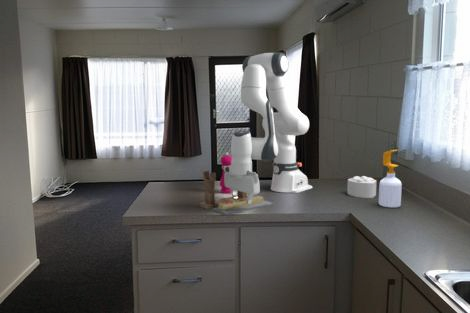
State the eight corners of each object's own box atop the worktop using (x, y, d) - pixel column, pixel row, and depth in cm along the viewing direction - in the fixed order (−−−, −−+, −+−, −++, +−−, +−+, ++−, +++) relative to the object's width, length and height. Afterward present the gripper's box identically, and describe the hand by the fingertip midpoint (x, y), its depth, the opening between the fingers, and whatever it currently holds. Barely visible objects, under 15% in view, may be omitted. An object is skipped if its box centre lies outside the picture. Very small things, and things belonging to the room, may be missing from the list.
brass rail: (258, 201, 194) (258, 195, 194) (263, 202, 192) (263, 197, 191) (218, 209, 181) (218, 203, 180) (223, 211, 179) (222, 205, 178)
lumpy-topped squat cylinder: (372, 198, 202) (372, 180, 200) (344, 195, 208) (345, 177, 207) (377, 194, 211) (378, 176, 209) (350, 191, 217) (351, 174, 216)
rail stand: (243, 197, 205) (243, 166, 203) (252, 200, 200) (252, 167, 198) (198, 205, 190) (198, 172, 188) (207, 209, 185) (207, 174, 183)
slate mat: (259, 200, 198) (259, 199, 198) (272, 204, 191) (272, 202, 191) (212, 210, 183) (212, 208, 183) (225, 214, 176) (225, 212, 176)
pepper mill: (232, 194, 212) (232, 153, 209) (218, 193, 213) (217, 153, 211) (235, 190, 219) (235, 151, 216) (221, 190, 220) (221, 151, 218)
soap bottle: (390, 208, 183) (392, 151, 180) (374, 204, 191) (376, 148, 188) (405, 206, 187) (408, 149, 184) (388, 201, 195) (391, 147, 192)
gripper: (263, 171, 178) (263, 204, 180) (233, 165, 194) (233, 195, 196) (251, 173, 174) (251, 207, 176) (221, 167, 190) (221, 198, 192)
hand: (241, 201), depth 186 cm, fingers open, 8 cm apart
